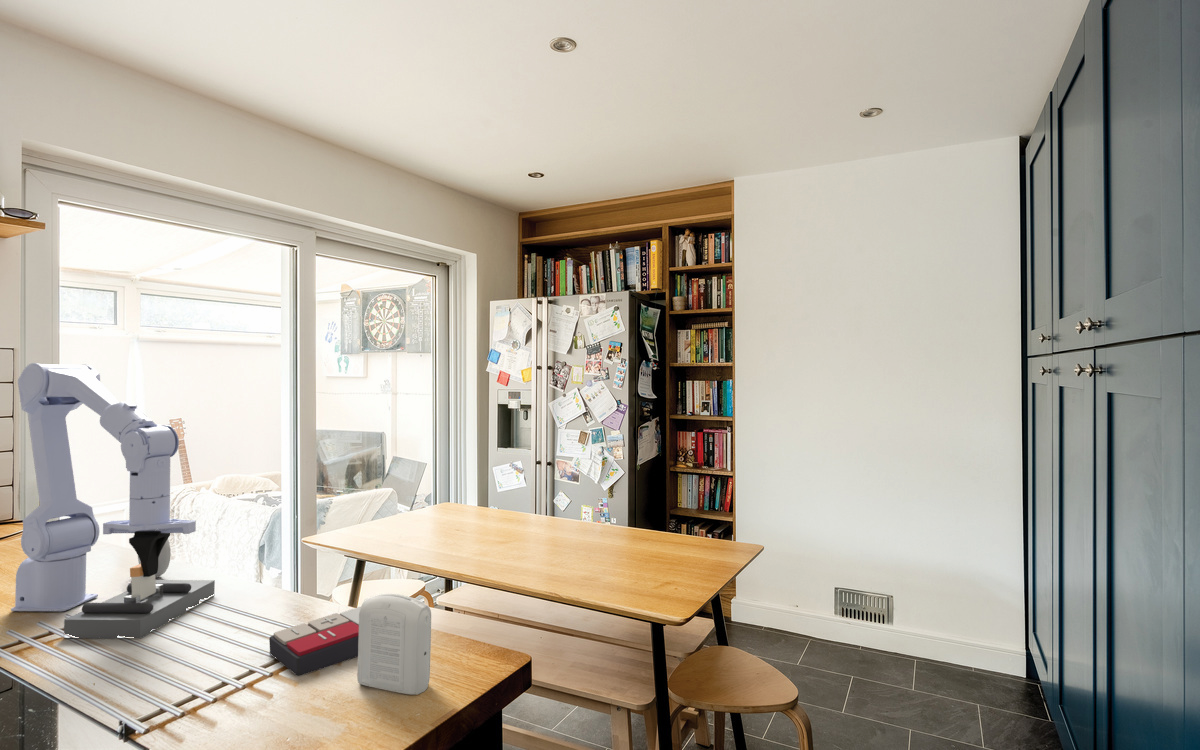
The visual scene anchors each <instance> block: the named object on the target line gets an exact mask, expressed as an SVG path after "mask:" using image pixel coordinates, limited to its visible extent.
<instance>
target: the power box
mask: <svg viewBox="0 0 1200 750" xmlns="http://www.w3.org/2000/svg"><path fill="white" fill-rule="evenodd" d="M155 582H156V593H155V595H154V596H152V597H150V598H148V599H146V600H144V601H142V602H140V595H132V584H131V582H130V583H128V585H127V587H126V591H123V592H122V593H119V594H117V595H115V596H113V597H111V598H109V599H106V600H104V601H102V602H84V604H83V605H82V607H81V611H80V612H78V613H75V614H74V615H71V616H68V617H67V618H65V619H64V621H63V634H64V633H65V634H69V635H72V636H75V637H79V638H78V639H86V638H87V639H95V640H96V639H97V640H98V639H99V640H100V639H104V640H105V639H109V640H110V639H112V640H114V639H115V638H117V636H118V635H119V636H125V637H134V638H140V639H142V638H143V637H146V636H148V635H149V634H151V633H150V631H151V630H152V629H156V630H157V628H158V629H160V628H162V627H163V626H165V625H167V624H169V622H168V621H169V619H172V618H175V619H177V618H178V616H179V617H180V616H182V615H184V614H185V612H186V608H188V607H192V606H195V605H197V604H199V600H200V599H204V598H208V597H209V596H211V595H213V594H214V595H215V583H216V582H215V579H209V580H208V579H155ZM199 605H200V604H199ZM186 613H187V612H186ZM176 617H177V618H176ZM164 624H165V625H164ZM159 627H160V628H159Z"/></svg>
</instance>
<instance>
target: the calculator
mask: <svg viewBox="0 0 1200 750" xmlns="http://www.w3.org/2000/svg"><path fill="white" fill-rule="evenodd" d="M360 608H361V606H358V607H355V608H352V609H349V610H345V611H342V612H340V613H338V612H336V613H331V614H330V615H329V614H328V615H326V616H322V617H319V618H316V619H313V620H310V621H308V623H307V624H306V623H300V624H297V625H294V626H291V627H288V628H284V629H281V630H278V631H275V632H273V635H271V636H269V654H270V653H271V654H272V655H273V656H274V657H273V656H272V655H271V654H270V655H271V656H272V657H273V658H275V657H276V658H277V659H278V660H277V659H276V658H275V659H276V660H277V661H278V662H279V663H281V665H283V666H284V667H285V668H286V669H288V670H289V671H291V672H292V673H293V674H294V675H295V676H297V677H300V676H303V675H307V674H311V673H313V672H316V671H319V670H323V669H326V668H329V667H331V666H335V665H338V664H340V663H344V662H346V661H349V660H352V659H355V658H358V639H359V613H360Z"/></svg>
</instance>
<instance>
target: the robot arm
mask: <svg viewBox="0 0 1200 750" xmlns="http://www.w3.org/2000/svg"><path fill="white" fill-rule="evenodd" d="M100 374H101V373H100V372H99V371H97V370H96V369H95V367H93V366H92V365H90V364H86V363H85V364H53V363H52V364H51V363H50V364H49V363H37V362H32V363H29V364H27V365H26V366H25V367H24V369H22V372H21V374H20V376H19V378H18V379H17V386H18V394H19V400H20V401H19V402H20V407H21V411H22V412H23V411H24V412H25V413H26V414H27V420H28V421H27V422H28V428H29V436H30V442H31V450H32V458H33V464H34V465H33V466H34V471H35V480H36V487H37V494H38V501H39V502H38V503H39V505H38V506H37V507H36V508H35V509H34V510H32V511H31V513H29V514H28V515H27V516H25V517H24V518H23V519H22V534H21V537H20V546H21V549H22V551H23V554H25V556H27V558H25V559H24V560H23V561H21V563H20V565H19V566H18V568H17V570H16V574H15V602H14V607H11V608H10V611H11V612H65V611H68V610H71V609H73V608H75V607H77V606H79V605H82V604H83V603H84V604H85V603H87V602H89V601H90V600H94V599H95V598H98V597H99V594H98V593H86V591H87V590H86V587H87V585H86V583H87V553H90V552H91V551H92V547H93V546H94V545H95V544H96V543H97V542H98V539H99V536H100V525H99V523H98V521H97V519H96V518H95V514H94V510H93V507H92V506H91V505H89V504H87V503H85V502H84V501H81V500H79V498H77V491H76V483H75V477H74V475H75V474H74V470H73V461H72V455H71V448H70V441H69V440H70V439H69V433H68V426H67V416H68V415H69V413H70V412H72V411H75V410H76V409H78V408H79V407H81V406H82V404H83V405H85V406H86V407H87V408H89V409H90V410H91V411H93V412H94V413H96V414H97V415H98V416H100V417H99V424H100V426H101V427H102V428H103V429H104V430H105V431H106V432H108V433H109V434H110V435H111V436H112V437H113V438H114V439H115V440H116V441H118V442H119V443H120V450H121V453H122V456H123V458H124V460H125V468H126V471H127V472H129V512H128V514H129V516H128V517H129V518H128V519H126V520H124V519H123V520H110V521H106V522H103V523H102V535H112V534H134V535H133V537H129V538H128V543H129V545H130V546H131V547H132V548H133V550H134V551H135V552H136V554H137V557H138V556H139V558H140V561H141V567H142V570H143V577H150V576H152V575H154V574H157V572H158V558H159V555H160V552H161V550H162V548H163V546H164V544H165V543H166V541H167V539H168V540H169V538H170V536H171V534H183V535H189V534H192V533H194V532H196V531H197V530H196V529H197V528H196V527H197V526H196V525H197V524H196V523H197V521H196V520H191V519H178V518H171V458H172V457H174V456H175V454H176V453H177V452H178V450H179V446H180V444H179V443H180V439H179V436H178V433H177V432H176V430H175V429H174V427H173V426H171V425H168V424H163V425H162V424H160V423H155V422H154V421H153V420H152V418H150V417H148V416H147V415H145V414H144V413H143V412H142V411H141V410H140V409H139V408H138V406H137V404H135V403H134V402H127V401H120V402H119V400H117V398H116V397H115V396H114V394H112V393H111V391H109V390H108V389H107V388H106V387H105V385H103V384H102V383H101V375H100ZM62 517H67V518H62ZM57 518H61V519H57ZM52 519H57V520H52ZM49 520H50V521H49Z"/></svg>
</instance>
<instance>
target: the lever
mask: <svg viewBox="0 0 1200 750" xmlns="http://www.w3.org/2000/svg"><path fill="white" fill-rule="evenodd" d="M129 578H130V581H131V582H130V583H131V584H132V595H140V602H142V601H144V600H146V599H148V598H150V597H152V596H154V595H155V593H156V582H155V580H156V578H155V574H154V575H152V576H150V577H143V570H142V567H141V564H139V563H138V564H137V565H134V566H132V567H130V568H129Z"/></svg>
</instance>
